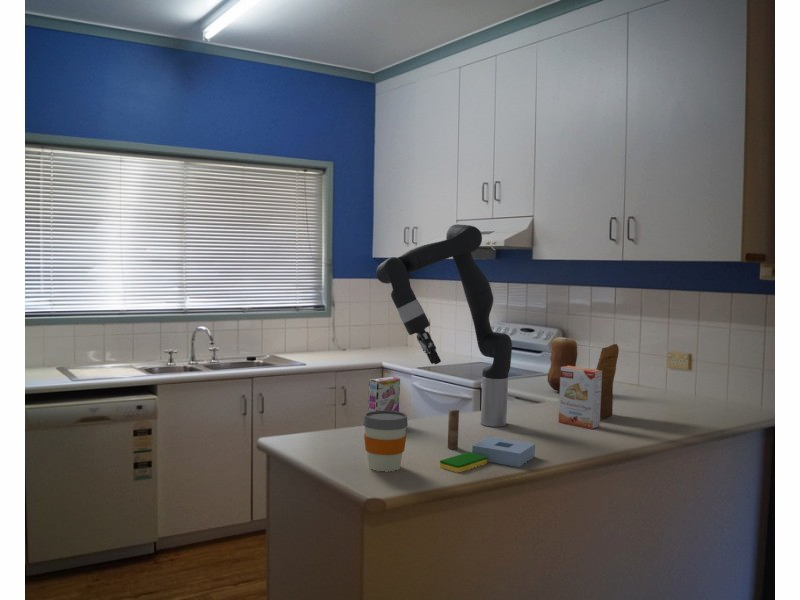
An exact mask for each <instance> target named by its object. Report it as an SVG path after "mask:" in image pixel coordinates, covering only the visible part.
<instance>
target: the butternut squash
mask: <svg viewBox="0 0 800 600" xmlns="http://www.w3.org/2000/svg"><path fill="white" fill-rule="evenodd" d="M550 352H551V353H550V354H551V355H550V358H549V361H550V367H549V369H548V373H547V381H546V382H547V383H548V384H549V386H550V387H551V389H553V390H554V391H558V392H559V393H560V375H561V367H564V366H574V367H577V366H576V365H577V361H578V343H577V341H576V340H574V339H572V338H568V337H562V336H561V337H555V338H554V339H553V340H552V342H551V351H550Z"/></svg>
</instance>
